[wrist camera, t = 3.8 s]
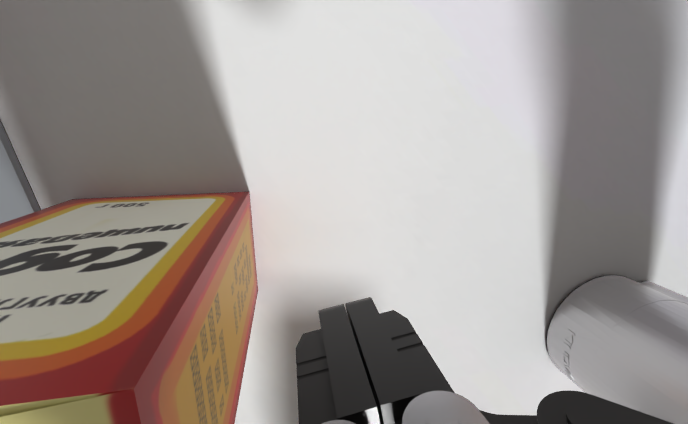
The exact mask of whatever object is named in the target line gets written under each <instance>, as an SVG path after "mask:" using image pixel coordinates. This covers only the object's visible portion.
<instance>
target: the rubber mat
mask: <svg viewBox="0 0 688 424" xmlns="http://www.w3.org/2000/svg"><path fill="white" fill-rule="evenodd" d="M37 211H40V207H39V205H38V203H37V201H36V199H35V196H34V194H33V192H32V190H31V188H30V185H29V183H28V181H27V179H26V176H25V174H24V172H23V170H22V168H21V165H20V163H19V161H18V159H17V157H16V154H15V152H14V150H13V148H12V146H11V143H10V141H9V139H8V137H7V134H6V132H5V130H4V128H3V126H2V123H1V121H0V224H1V223H4V222H7V221H10V220H13V219H16V218H19V217H22V216H25V215H28V214H31V213H34V212H37Z"/></svg>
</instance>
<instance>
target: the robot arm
mask: <svg viewBox="0 0 688 424" xmlns="http://www.w3.org/2000/svg"><path fill="white" fill-rule="evenodd" d="M346 311H347V313H346ZM318 312H319V318H320V323H321V329H320V330H316V331H312V332H308V333H305V334H303V335H302V337H301V339H300V341H299V343H298V345H297V347H296V364H297V379H298V380H297V387H298V410H299V424H688V297H685V296H683V295H681V294H678V293H676V292H673V291H671V290H669V289H666V288H664V287H662V286H659V285H657V284H655V283H652V282H650V281H645V282H640V283H638V282H636V281H634V280H632V279H629V278H627V277H623V276H618V275H609V276H603V277H599V278H595V279H593V280H591V281H588V282H586V283H584V284H583V285H581V286H580V287H578V288H577V289H576V290H574V291H573V292H572V293H571V294H570V295H569V296H568V297H567V298H566V299H565V300H564V301H563V302H562V304H561V305H560V306H559V308H558V309H557V310H556V312H555V314H554V316H553V318H552V320H551V323H550V326H549V330H548V335H547V348H548V353H549V356H550V358H551V361H552V362H553V363H554V364H555V366H556V367H557V368H558V369H559V370H560V371H562V372H563V373H564V374H565V375H566V376H567V377H568V378H569V379H571V380H572V381H573V382H574V383H575V384H576V385H577V386H578V387H580V388H581V389H582V390H583V391H584V392H585V393H583V392H578V391H559V392H554V393H552V394H549V395H548V396H546V397H544V398H543V400H542V401H541V402H540V404H539V406H538V409H537V416H529V415H496V414H491V413H487V412H484V411H480V410H479V409H478V408H477V407H476V406H475V405H474V404H473V403H472V402H470V401H469V400H468V399H466V398H464V397H463V396H461V395H458V394H456V393H454V391H453V390H452V388H451V387H450V385H449V384H448V382H447V381H446V379H445V377H444V376H443V374H442V373H441V371H440V369H439V368H438V366H437V365H436V363H435V362H434V360H433V358H432V357H431V355H430V354H429V352H428V350H427V349H426V347H425V346H424V345H423V343H422V341H421V339H420V338H419V336H418V335H417V334H416V332H415V330H414V328H413V327H412V325H411V324H410V322H409V320H408V319H407V318H405V317H404V316H402V315H401V314H399V313H397V312H396V311H394V310H392V311H389V312H385V313H381V314H379V313H378V311H377V309H376V307H375V304H374V302H373V300H372V299H371V297H369V298H365V299H361V300H357V301H353V302H349V303H346V310H345V307H344V304H342V305H338V306H334V307H330V308H326V309H322V310H318Z"/></svg>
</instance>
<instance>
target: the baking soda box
mask: <svg viewBox="0 0 688 424" xmlns="http://www.w3.org/2000/svg"><path fill="white" fill-rule="evenodd" d="M257 293H258V286H257V274H256V263H255V251H254V240H253V228H252V217H251V205H250V194H249V192H229V193H206V194H183V195H161V196H138V197H115V198H92V199H72V200H69V201H66V202H63V203H60V204H57V205H54V206H52V207H49V208H46V209H43V210H40V211H37V212H34V213H31V214H28V215H25V216H22V217H19V218H16V219H13V220H10V221H7V222H4V223H1V224H0V424H234V423H235V417H236V411H237V406H238V400H239V395H240V389H241V383H242V378H243V372H244V366H245V361H246V355H247V350H248V344H249V338H250V333H251V327H252V321H253V316H254V310H255V304H256V299H257Z"/></svg>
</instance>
